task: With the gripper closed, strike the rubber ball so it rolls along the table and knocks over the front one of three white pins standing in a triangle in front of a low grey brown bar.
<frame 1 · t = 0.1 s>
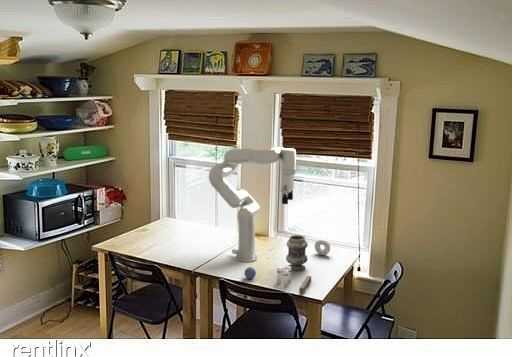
hand: (287, 201, 272), 37 cm above the table, tool pointing down, fingers open, 9 cm apart
pin 2: (288, 282, 256), on the table
grey brown bar: (305, 287, 250), on the table
ball: (250, 273, 259), on the table
front pin: (279, 283, 255), on the table
grey brown vase: (296, 268, 275), on the table
pin 1: (285, 286, 251), on the table
donut: (322, 255, 295), on the table
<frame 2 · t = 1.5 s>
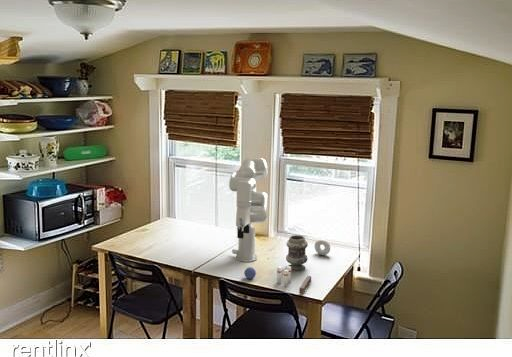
hand: (243, 235, 261), 22 cm above the table, tool pointing down, fingers open, 9 cm apart
nothing on the table moved.
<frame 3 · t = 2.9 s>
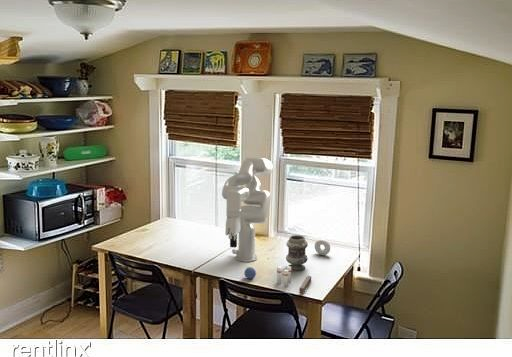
hand: (233, 246, 260), 16 cm above the table, tool pointing down, fingers closed
nothing on the table moved.
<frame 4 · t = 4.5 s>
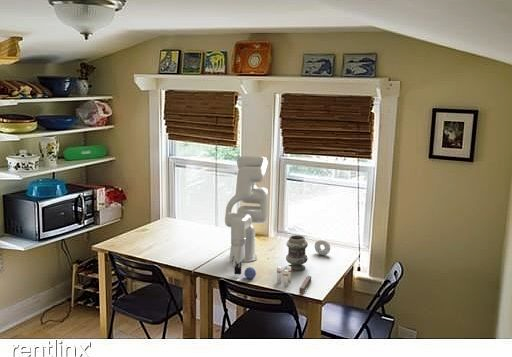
hand: (237, 273, 262), 2 cm above the table, tool pointing down, fingers closed
nothing on the table moved.
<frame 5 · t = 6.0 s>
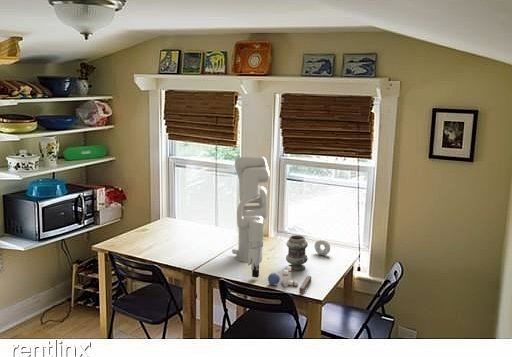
hand: (255, 276, 259), 2 cm above the table, tool pointing down, fingers closed
ball: (273, 279, 252), on the table
front pin: (281, 281, 254), point 1 cm above the table, tilted 90°
everything else where it was.
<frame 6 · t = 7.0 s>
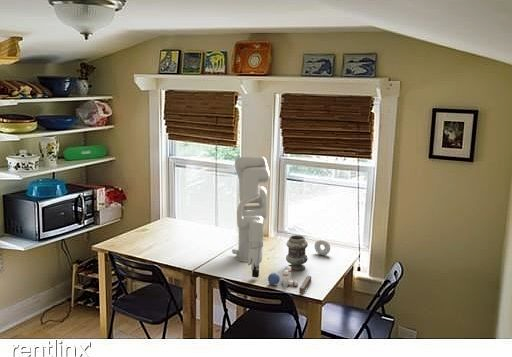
hand: (255, 276, 259), 2 cm above the table, tool pointing down, fingers closed
nothing on the table moved.
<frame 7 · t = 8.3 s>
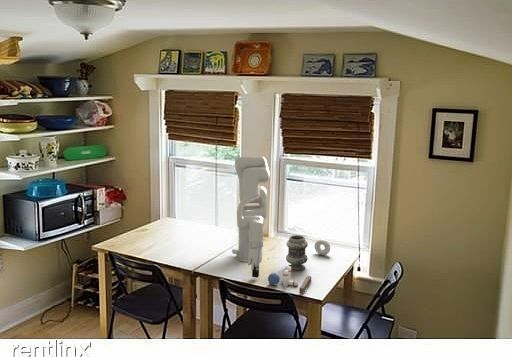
hand: (255, 276, 259), 2 cm above the table, tool pointing down, fingers closed
nothing on the table moved.
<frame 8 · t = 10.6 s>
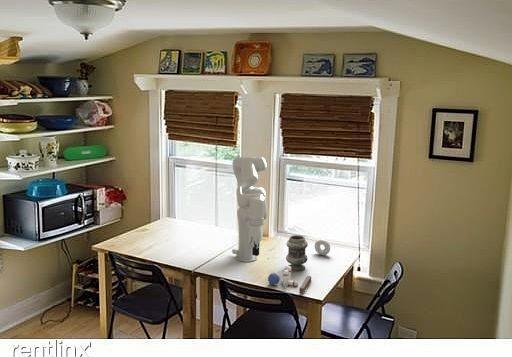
hand: (255, 255, 256), 14 cm above the table, tool pointing down, fingers closed
nothing on the table moved.
at the end: front pin tilted 90°; front pin never touched the robot; ball moved 14.3 cm from its start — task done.
